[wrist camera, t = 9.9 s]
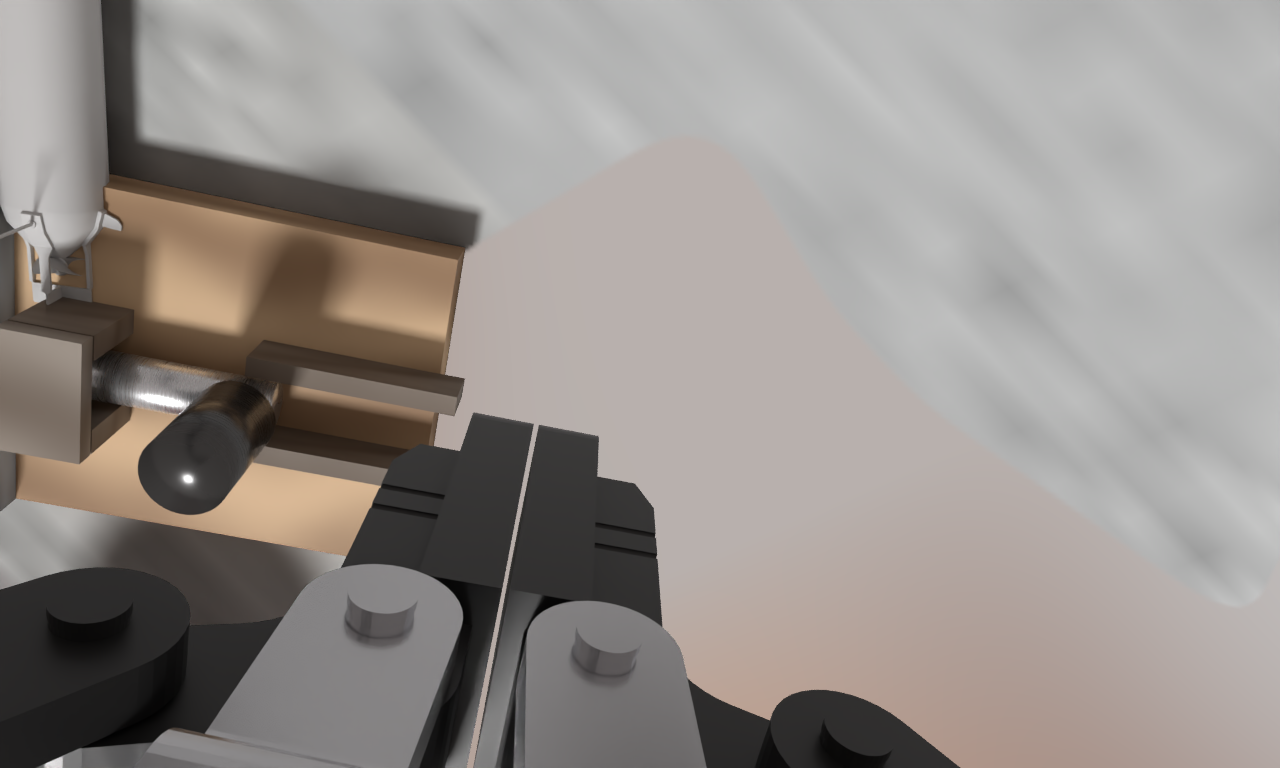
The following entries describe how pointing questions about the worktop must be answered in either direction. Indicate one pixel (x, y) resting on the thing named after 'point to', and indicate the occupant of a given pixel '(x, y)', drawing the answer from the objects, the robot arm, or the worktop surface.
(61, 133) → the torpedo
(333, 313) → the lock plate
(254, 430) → the bolt
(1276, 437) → the worktop surface
